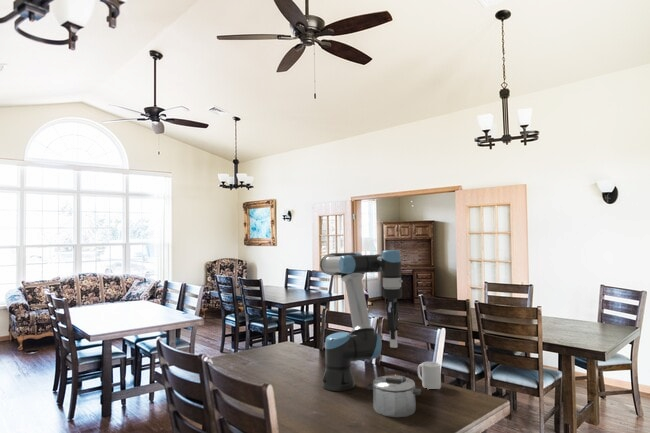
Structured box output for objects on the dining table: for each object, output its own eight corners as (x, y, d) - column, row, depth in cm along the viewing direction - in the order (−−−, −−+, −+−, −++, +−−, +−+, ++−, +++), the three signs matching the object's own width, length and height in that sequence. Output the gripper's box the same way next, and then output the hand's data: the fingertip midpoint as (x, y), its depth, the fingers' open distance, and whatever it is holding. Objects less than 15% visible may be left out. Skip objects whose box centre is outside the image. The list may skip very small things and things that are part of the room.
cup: (433, 391, 181) (432, 367, 182) (412, 384, 190) (411, 362, 191) (445, 387, 186) (444, 364, 186) (424, 380, 195) (423, 358, 196)
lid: (368, 388, 159) (368, 383, 159) (379, 375, 175) (379, 370, 175) (410, 393, 153) (410, 388, 153) (418, 379, 169) (418, 374, 169)
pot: (363, 412, 159) (362, 388, 160) (374, 397, 175) (374, 375, 175) (417, 420, 151) (417, 395, 152) (424, 403, 167) (423, 380, 168)
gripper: (398, 290, 160) (399, 351, 159) (404, 286, 172) (406, 344, 171) (379, 289, 163) (380, 350, 161) (386, 286, 175) (388, 342, 174)
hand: (393, 347), depth 166 cm, fingers closed
